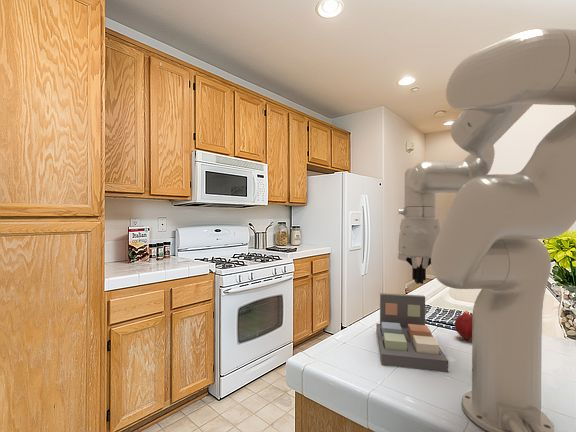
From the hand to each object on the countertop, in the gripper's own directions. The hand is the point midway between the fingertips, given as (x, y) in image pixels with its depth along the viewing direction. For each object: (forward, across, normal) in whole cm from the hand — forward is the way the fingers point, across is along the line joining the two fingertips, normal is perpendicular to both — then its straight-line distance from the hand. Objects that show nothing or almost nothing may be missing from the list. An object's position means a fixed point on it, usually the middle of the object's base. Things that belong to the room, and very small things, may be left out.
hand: (418, 282), depth 80 cm
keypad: (+16, -3, -4) cm, 17 cm away
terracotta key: (+15, 0, 0) cm, 15 cm away
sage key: (+14, -7, -8) cm, 18 cm away
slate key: (+15, -7, 0) cm, 16 cm away
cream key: (+14, 0, -8) cm, 17 cm away
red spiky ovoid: (+17, +14, +6) cm, 22 cm away
